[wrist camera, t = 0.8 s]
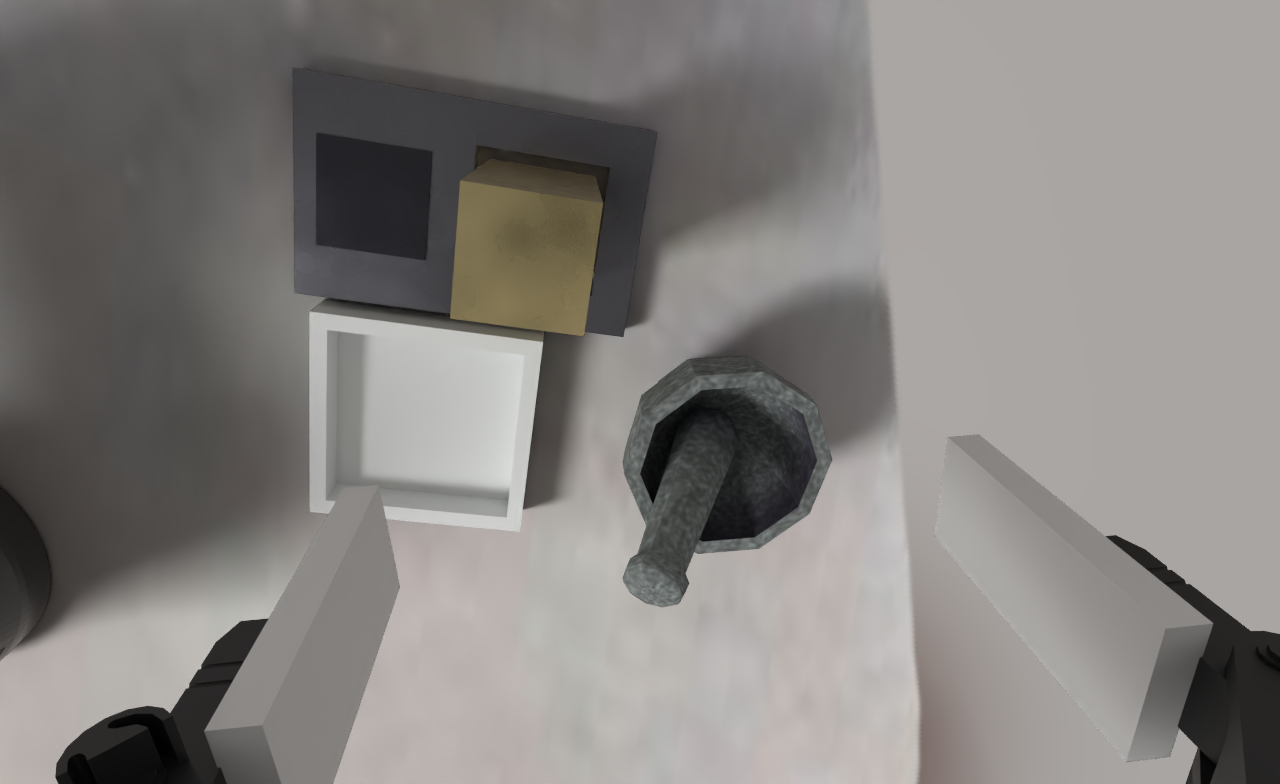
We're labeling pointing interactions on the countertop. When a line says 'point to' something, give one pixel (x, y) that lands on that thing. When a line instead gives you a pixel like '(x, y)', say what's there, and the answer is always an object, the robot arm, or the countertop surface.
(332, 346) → the white tray
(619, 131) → the dark grey flat slab
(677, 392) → the mortar and pestle
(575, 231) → the brass block
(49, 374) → the countertop surface
